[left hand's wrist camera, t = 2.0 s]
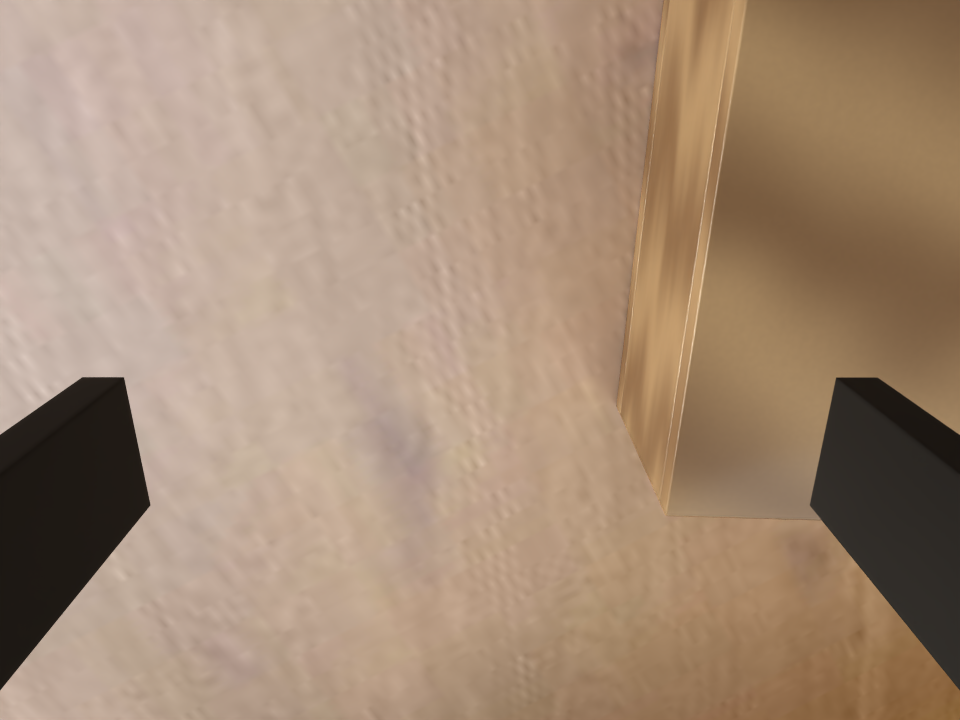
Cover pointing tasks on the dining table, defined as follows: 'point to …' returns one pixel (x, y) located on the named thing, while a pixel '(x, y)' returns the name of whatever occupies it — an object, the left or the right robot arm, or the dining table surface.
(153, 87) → the dining table surface
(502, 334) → the dining table surface
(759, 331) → the cabinet
